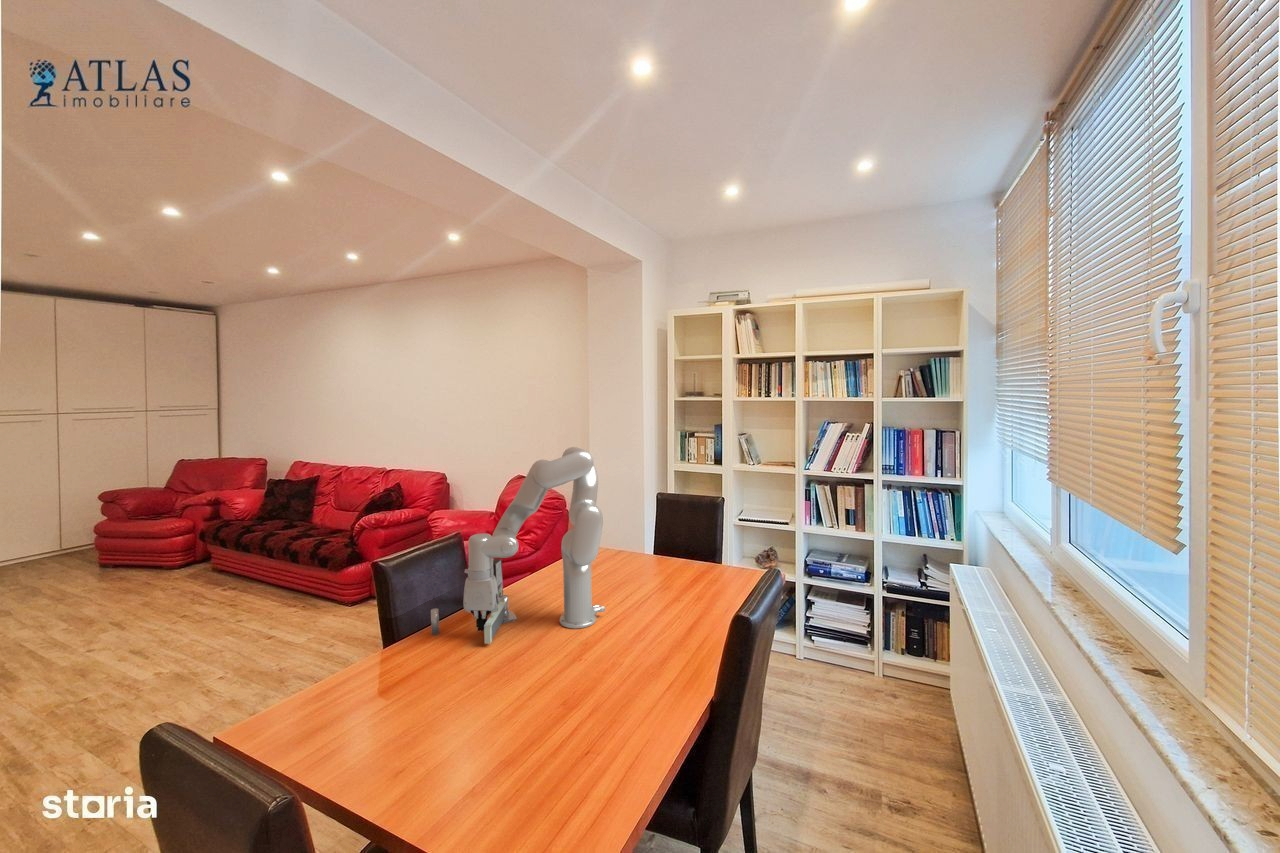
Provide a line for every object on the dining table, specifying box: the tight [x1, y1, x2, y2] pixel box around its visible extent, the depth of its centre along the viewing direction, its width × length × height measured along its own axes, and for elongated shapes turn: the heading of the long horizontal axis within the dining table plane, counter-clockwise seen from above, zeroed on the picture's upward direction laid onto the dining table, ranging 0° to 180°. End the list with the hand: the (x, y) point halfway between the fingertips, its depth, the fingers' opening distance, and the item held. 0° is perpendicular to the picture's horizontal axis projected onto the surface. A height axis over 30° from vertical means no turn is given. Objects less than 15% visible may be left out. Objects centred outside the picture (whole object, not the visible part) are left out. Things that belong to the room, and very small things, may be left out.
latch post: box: [430, 607, 440, 636], centre depth 164 cm, size 2×2×8 cm
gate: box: [483, 602, 505, 645], centre depth 163 cm, size 18×2×6 cm, turn 0°
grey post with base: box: [500, 594, 518, 625], centre depth 174 cm, size 7×7×8 cm
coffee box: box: [493, 558, 504, 605], centre depth 188 cm, size 9×6×16 cm
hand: (481, 629), depth 160 cm, fingers closed
